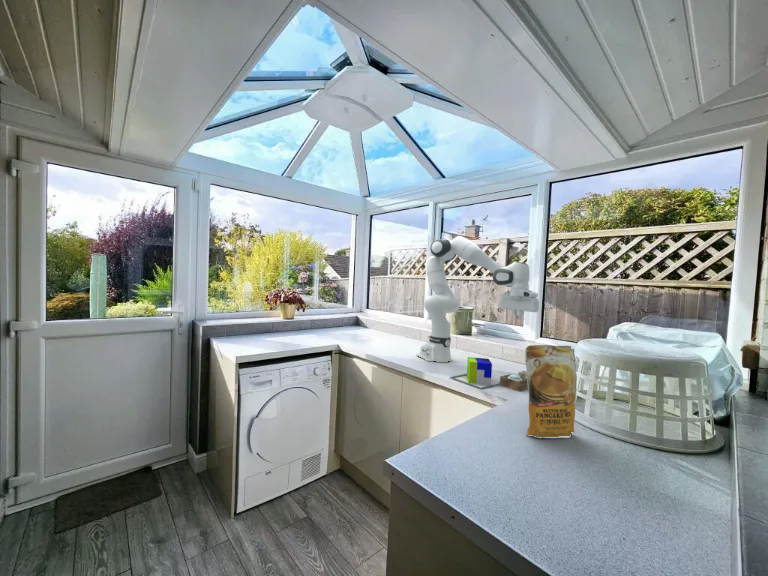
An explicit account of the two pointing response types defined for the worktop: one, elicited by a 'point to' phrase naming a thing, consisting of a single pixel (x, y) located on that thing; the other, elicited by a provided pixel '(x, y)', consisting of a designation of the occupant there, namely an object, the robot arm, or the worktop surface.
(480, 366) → the puzzle toy
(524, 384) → the brown wooden box
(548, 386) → the pancake mix bag
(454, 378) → the frame
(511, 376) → the dome button
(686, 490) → the worktop surface
